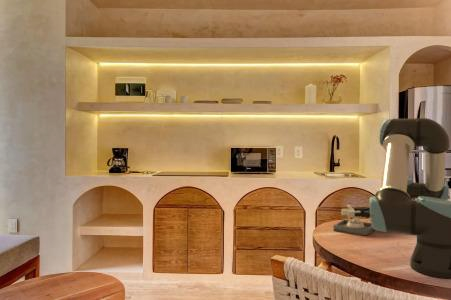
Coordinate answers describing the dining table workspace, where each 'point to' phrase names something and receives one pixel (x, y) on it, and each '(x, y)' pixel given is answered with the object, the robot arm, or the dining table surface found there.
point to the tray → (343, 227)
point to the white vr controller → (356, 220)
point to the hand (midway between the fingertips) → (344, 213)
